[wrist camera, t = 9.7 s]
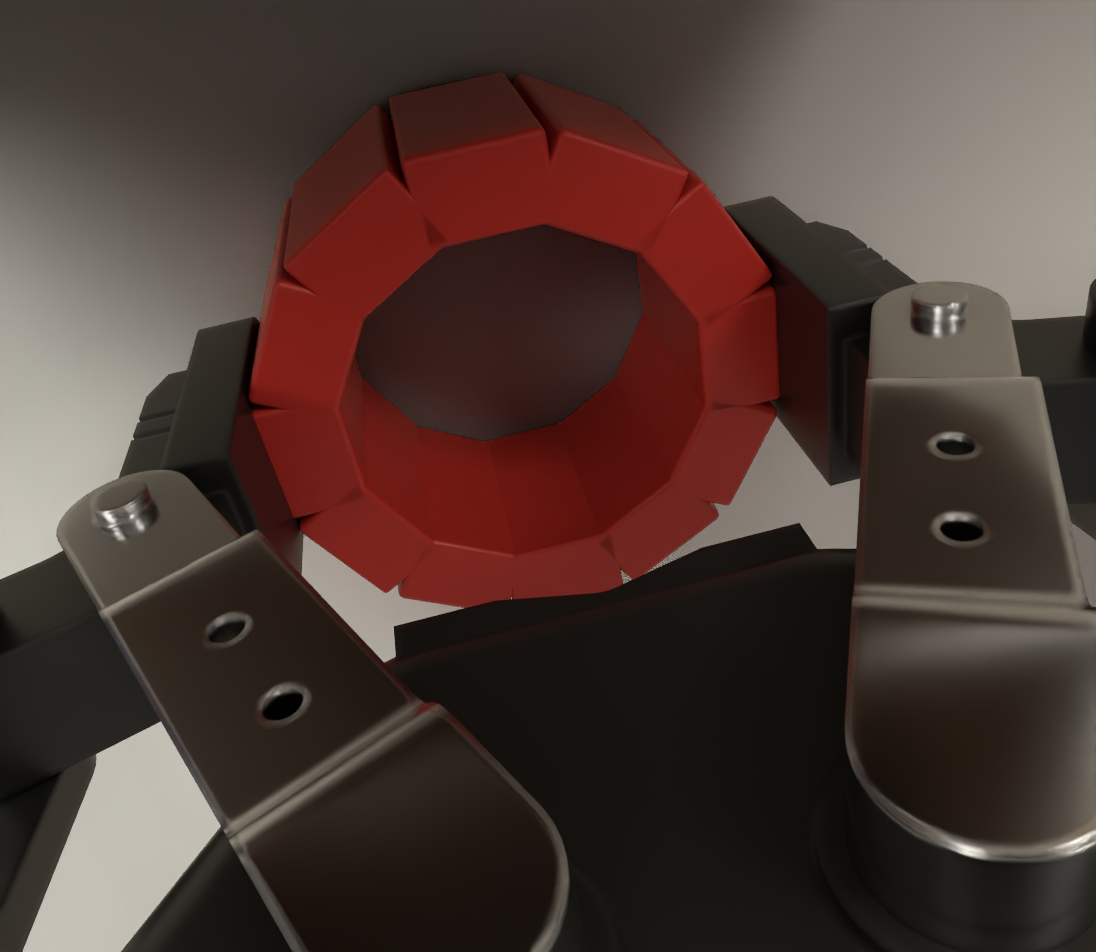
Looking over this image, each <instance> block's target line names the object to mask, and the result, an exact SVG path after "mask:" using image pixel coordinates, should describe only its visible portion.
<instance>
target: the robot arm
mask: <svg viewBox="0 0 1096 952" xmlns="http://www.w3.org/2000/svg"><path fill="white" fill-rule="evenodd" d="M723 208H724V209H725V210H726V212H727V213H728V214H729V216H730V217H731V218H732V220H733V221H734V222H735V224H736V225H737V226H738V228H739V229H740V230H741V232H742V233H743V234H744V236H745V237H746V238H747V240H748V241H749V242H750V244H751V245H752V247H753V248H754V249H755V251H756V252H757V253H758V255H759V256H760V257H761V259H762V260H763V261H764V263H765V264H766V265H767V267H768V268H769V269H770V271H771V273H772V277H771V279H770V280H769V281H768V282H767V283H768V284H769V285H770V286H771V287H772V288H773V289H774V291H775V296H776V317H777V341H778V364H779V388H780V397H779V398H778V399H775V400H771V401H770V402H771V403H772V404H773V406H774V407H775V408H776V409H777V415H776V416H777V417H778V418H779V420H780V421H781V422H782V424H783V425H784V426H785V428H786V429H787V430H788V431H789V433H790V434H791V435H792V437H793V438H794V439H795V441H796V442H797V443H798V444H799V446H800V447H801V448H802V450H803V451H804V452H805V454H806V455H807V456H808V457H809V459H810V460H811V461H812V463H813V464H814V465H815V467H816V468H817V469H818V470H819V472H820V473H821V474H822V476H823V477H824V478H825V480H826V481H827V482H828V483H829V485H830V486H831V485H835V484H839V483H843V482H847V481H851V480H855V479H859V478H860V495H859V513H858V531H857V548H856V549H817V548H816V547H815V545H814V544H813V542H812V541H811V540H810V538H809V537H808V535H807V534H806V532H805V531H804V529H803V528H802V526H801V525H800V523H797V524H793V525H789V526H785V527H782V528H778V529H774V530H770V531H766V532H762V533H758V534H754V535H750V536H746V537H742V538H738V539H735V540H731V541H727V542H723V543H719V544H715V545H711V546H707V547H703V548H700V549H698V550H696V551H694V552H692V553H689V554H687V555H685V556H683V557H681V558H679V559H676V560H674V561H672V562H670V563H668V564H666V565H663V566H661V567H659V568H657V569H655V570H653V571H650V572H648V573H646V574H644V575H642V576H640V577H637V578H635V579H633V580H631V581H629V582H627V583H624V584H622V585H620V586H618V587H616V588H613V589H611V590H608V591H604V592H598V593H589V594H576V595H563V596H549V597H536V598H523V599H510V600H497V601H492V602H488V603H484V604H480V605H476V606H472V607H468V608H464V609H460V610H456V611H453V612H449V613H445V614H441V615H437V616H433V617H429V618H425V619H421V620H417V621H413V622H409V623H406V624H402V625H398V626H394V636H395V649H396V657H395V658H393V659H391V660H389V661H387V662H385V663H384V662H383V661H382V660H381V659H380V658H379V657H378V656H377V655H376V654H375V653H374V652H373V650H372V649H371V648H370V647H369V646H368V645H367V644H366V643H365V642H364V641H363V640H362V639H361V638H360V637H359V636H358V635H357V634H356V632H355V631H354V630H353V629H352V628H351V627H350V626H349V625H348V624H347V623H346V622H345V621H344V620H343V619H342V618H341V617H340V616H339V614H338V613H337V612H336V611H335V610H334V609H333V608H332V607H331V606H330V605H329V604H328V603H327V602H326V601H325V600H324V599H323V598H322V597H321V595H320V594H319V593H318V592H317V591H316V590H315V589H314V588H313V587H312V586H311V585H310V584H309V583H308V582H307V581H306V580H305V579H304V577H303V576H302V575H301V573H302V552H303V533H302V532H301V531H300V529H299V523H300V517H299V518H294V517H293V515H292V512H291V510H290V507H289V505H288V502H287V500H286V497H285V495H284V492H283V490H282V487H281V485H280V482H279V480H278V477H277V475H276V472H275V470H274V468H273V465H272V463H271V460H270V458H269V455H268V453H267V450H266V448H265V445H264V443H263V440H262V438H261V435H260V433H259V430H258V428H257V425H256V423H255V420H254V417H253V410H254V403H252V402H250V401H249V399H248V391H249V385H250V379H251V373H252V367H253V361H254V355H255V349H256V343H257V337H258V331H259V325H260V322H259V321H258V320H257V318H255V317H252V318H247V319H243V320H239V321H235V322H230V323H226V324H222V325H218V326H214V327H209V328H205V329H201V330H199V331H198V333H197V336H196V340H195V344H194V347H193V351H192V354H191V358H190V361H189V365H188V368H187V370H186V371H181V372H177V373H173V374H169V375H168V376H167V377H166V378H165V379H164V380H163V381H162V382H161V383H160V384H159V385H158V386H157V387H156V388H155V389H154V390H153V391H152V392H151V393H150V394H149V395H148V396H147V397H146V400H145V403H144V406H143V409H142V412H141V414H140V417H139V419H140V422H139V423H137V426H136V429H135V432H134V435H133V437H134V440H132V441H131V444H130V447H129V449H128V452H127V455H126V458H125V461H124V464H123V467H122V470H121V473H120V476H119V479H116V480H114V481H111V482H109V483H107V484H105V485H103V486H101V487H99V488H97V489H95V490H94V491H92V492H90V493H89V494H87V495H86V496H84V497H83V498H82V499H80V500H79V501H78V502H76V503H75V504H74V505H73V506H72V507H71V508H70V509H69V510H68V511H67V512H66V513H65V515H64V516H63V517H62V519H61V521H60V522H59V525H58V527H57V534H56V536H57V539H58V542H59V543H60V545H61V547H62V549H63V551H62V552H60V553H58V554H56V555H54V556H53V557H51V558H48V559H46V560H44V561H42V562H40V563H38V564H35V565H33V566H31V567H28V568H26V569H24V570H21V571H19V572H17V573H14V574H12V575H10V576H7V577H5V578H3V579H1V580H0V952H22V951H23V948H24V946H25V943H26V941H27V938H28V936H29V933H30V931H31V928H32V926H33V923H34V921H35V918H36V916H37V913H38V911H39V908H40V906H41V903H42V901H43V898H44V896H45V893H46V891H47V888H48V886H49V883H50V881H51V878H52V876H53V873H54V871H55V868H56V866H57V863H58V861H59V858H60V856H61V853H62V851H63V848H64V846H65V843H66V841H67V838H68V836H69V833H70V831H71V828H72V826H73V823H74V821H75V818H76V816H77V813H78V811H79V808H80V806H81V803H82V801H83V798H84V796H85V793H86V791H87V788H88V786H89V783H90V781H91V778H92V776H93V773H94V770H95V766H96V754H97V753H99V752H101V751H103V750H105V749H107V748H109V747H111V746H113V745H115V744H117V743H119V742H121V741H123V740H125V739H127V738H129V737H131V736H133V735H135V734H137V733H139V732H141V731H143V730H145V729H147V728H148V727H150V726H152V725H154V724H156V723H158V722H160V721H161V722H162V724H163V726H164V727H165V729H166V731H167V733H168V734H169V736H170V738H171V740H172V741H173V743H174V745H175V747H176V748H177V750H178V752H179V754H180V755H181V757H182V759H183V761H184V762H185V764H186V766H187V767H188V769H189V771H190V773H191V774H192V776H193V778H194V780H195V781H196V783H197V785H198V787H199V788H200V790H201V792H202V794H203V795H204V797H205V799H206V801H207V802H208V804H209V806H210V808H211V809H212V811H213V813H214V815H215V816H216V818H217V820H218V822H219V823H220V825H221V827H220V828H219V830H218V831H217V832H216V833H215V835H214V836H213V837H212V838H211V840H210V841H209V842H208V843H207V845H206V846H205V847H204V848H203V850H202V851H201V852H200V853H199V855H198V856H197V857H196V858H195V860H194V861H193V862H192V863H191V865H190V866H189V867H188V868H187V870H186V871H185V872H184V874H183V875H182V876H181V877H180V879H179V880H178V881H177V882H176V884H175V885H174V886H173V887H172V889H171V890H170V891H169V892H168V894H167V895H166V896H165V897H164V899H163V900H162V901H161V902H160V904H159V905H158V906H157V907H156V909H155V910H154V911H153V912H152V914H151V915H150V916H149V917H148V919H147V920H146V921H145V922H144V924H143V925H142V926H141V927H140V929H139V930H138V931H137V933H136V934H135V935H134V936H133V938H132V939H131V940H130V941H129V943H128V944H127V945H126V946H125V948H124V949H123V950H122V951H121V952H1096V607H1092V606H1091V605H1090V604H1089V602H1088V599H1087V596H1086V592H1085V587H1084V583H1083V578H1082V573H1081V569H1080V564H1079V559H1078V554H1077V550H1076V545H1075V540H1074V535H1073V531H1072V526H1071V522H1072V523H1073V524H1075V525H1076V526H1077V527H1079V528H1080V529H1082V530H1083V531H1084V532H1086V533H1087V534H1088V535H1090V536H1091V537H1092V538H1094V539H1095V540H1096V279H1095V280H1094V281H1093V282H1092V284H1091V285H1090V290H1089V296H1088V302H1087V309H1086V315H1085V316H1074V317H1061V318H1047V319H1034V320H1011V315H1010V309H1009V306H1008V303H1007V302H1006V300H1005V299H1004V298H1003V297H1002V296H1000V295H999V294H998V293H996V292H994V291H992V290H990V289H987V288H984V287H981V286H977V285H973V284H967V283H961V282H925V283H916V282H915V281H914V280H912V279H911V278H910V277H908V276H907V275H906V274H904V273H903V272H902V271H900V270H899V269H898V268H896V267H895V266H894V265H893V264H891V263H890V262H889V261H887V260H883V259H882V256H881V255H879V254H878V253H877V252H875V251H874V250H873V249H871V248H867V245H866V244H865V243H863V242H862V241H861V240H859V239H858V238H857V237H855V236H854V235H853V234H851V233H850V232H849V231H847V230H844V229H841V228H837V227H834V226H830V225H827V224H823V223H820V222H811V223H806V222H804V221H803V220H802V219H801V218H799V217H798V216H797V215H796V214H795V213H793V212H792V211H791V210H790V209H788V208H787V207H786V206H785V205H783V204H782V203H781V202H780V201H778V200H777V199H776V198H775V197H773V196H768V197H764V198H760V199H756V200H751V201H747V202H743V203H739V204H734V205H730V206H726V207H723Z"/></svg>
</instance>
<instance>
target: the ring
mask: <svg viewBox="0 0 1096 952" xmlns="http://www.w3.org/2000/svg"><path fill="white" fill-rule="evenodd" d="M389 107H390V112H391V117H392V119H391V118H390V117H389V116H388V115H387V114H386V113H385V112H384V111H383V110H382V109H381V108H380V106H378V105H374V106H373V107H372V108H370V109H369V110H368V111H367V112H366V113H365V114H364V115H363V116H362V117H361V118H360V119H359V120H358V121H357V122H356V123H355V124H354V125H353V126H352V127H351V128H350V129H349V130H348V131H347V132H346V133H345V134H344V135H343V136H342V137H341V138H340V139H339V140H338V141H337V142H336V143H335V144H334V145H333V146H332V147H331V148H330V149H329V150H328V151H327V152H326V153H325V154H324V155H323V156H322V157H321V158H320V159H319V160H318V161H317V162H316V163H315V164H314V165H313V166H312V167H311V168H310V169H309V170H308V171H307V172H306V173H305V174H304V175H303V176H302V177H301V178H300V179H298V180H297V181H296V182H295V185H294V192H293V198H288V199H287V200H286V202H285V206H284V210H283V215H282V219H281V224H280V228H279V233H278V237H277V242H276V246H275V251H274V255H273V259H272V264H271V268H270V273H269V277H268V282H267V286H266V291H265V295H264V300H263V306H262V312H261V318H260V325H259V331H258V337H257V343H256V349H255V355H254V361H253V367H252V373H251V379H250V385H249V391H248V399H249V401H250V402H252V403H254V410H253V417H254V420H255V423H256V425H257V428H258V430H259V433H260V435H261V438H262V440H263V443H264V445H265V448H266V450H267V453H268V455H269V458H270V460H271V463H272V465H273V468H274V470H275V472H276V475H277V477H278V480H279V482H280V485H281V487H282V490H283V492H284V495H285V497H286V500H287V502H288V505H289V507H290V510H291V512H292V515H293V517H294V518H299V517H300V523H299V529H300V531H301V532H302V533H303V534H305V535H306V536H307V537H309V538H310V539H311V540H313V541H314V542H316V543H317V544H318V545H320V546H321V547H322V548H324V549H325V550H327V551H328V552H329V553H331V554H332V555H334V556H335V557H336V558H338V559H339V560H340V561H342V562H343V563H345V564H346V565H347V566H349V567H350V568H351V569H353V570H354V571H356V572H357V573H358V574H360V575H361V576H362V577H364V578H365V579H367V580H368V581H369V582H371V583H372V584H374V585H375V586H376V587H378V588H379V589H380V590H382V591H383V592H385V593H387V592H389V591H390V590H391V589H392V588H394V587H395V586H396V585H397V584H398V591H399V595H400V596H401V597H403V598H407V599H413V600H419V601H425V602H432V603H438V604H444V605H450V606H457V607H463V608H468V607H472V606H476V605H480V604H484V603H488V602H492V601H497V600H510V599H511V596H512V599H523V598H536V597H549V596H563V595H576V594H589V593H598V592H604V591H608V590H611V589H613V588H616V587H618V586H620V585H622V584H623V581H622V575H621V570H622V571H623V572H624V573H625V574H627V575H628V576H629V577H630V578H631V579H635V578H637V577H640V576H642V575H644V574H645V573H646V572H647V571H649V570H650V569H651V568H653V567H654V566H655V565H657V564H658V563H659V562H661V561H662V560H663V559H665V558H666V557H667V556H669V555H670V554H671V553H673V552H674V551H675V550H677V549H678V548H679V547H680V546H682V545H683V544H684V543H686V542H687V541H688V540H690V539H691V538H692V537H694V536H695V535H696V534H698V533H699V532H700V531H702V530H703V529H704V528H706V527H707V526H708V525H709V524H711V523H712V522H713V521H715V520H716V519H717V518H718V516H719V515H718V510H717V509H716V507H715V505H714V503H717V504H722V505H729V504H730V503H731V501H732V499H733V498H734V496H735V494H736V492H737V490H738V488H739V486H740V484H741V482H742V480H743V478H744V477H745V475H746V473H747V471H748V469H749V467H750V465H751V463H752V461H753V459H754V457H755V456H756V454H757V452H758V450H759V448H760V446H761V444H762V442H763V440H764V438H765V436H766V435H767V433H768V431H769V429H770V427H771V425H772V423H773V421H774V419H775V417H776V415H777V409H776V408H775V407H774V406H773V404H772V403H771V402H770V401H771V400H775V399H778V398H779V397H780V388H779V364H778V341H777V317H776V296H775V291H774V289H773V288H772V287H771V286H770V285H769V284H768V283H767V282H768V281H769V280H770V279H771V277H772V273H771V271H770V269H769V268H768V267H767V265H766V264H765V263H764V261H763V260H762V259H761V257H760V256H759V255H758V253H757V252H756V251H755V249H754V248H753V247H752V245H751V244H750V242H749V241H748V240H747V238H746V237H745V236H744V234H743V233H742V232H741V230H740V229H739V228H738V226H737V225H736V224H735V222H734V221H733V220H732V218H731V217H730V216H729V214H728V213H727V212H726V210H725V209H724V208H723V206H722V205H721V204H720V202H719V201H718V200H717V198H716V197H715V196H714V194H713V193H712V192H711V190H710V189H709V188H708V186H707V185H706V184H705V182H704V181H702V180H701V179H700V178H699V177H698V176H697V175H696V174H695V173H694V172H693V171H692V170H690V169H689V168H688V167H687V166H686V165H685V164H684V163H683V162H682V161H681V160H680V159H678V158H677V157H676V156H675V155H674V154H673V153H672V152H671V151H670V150H669V149H668V148H667V147H665V146H664V145H663V144H662V143H661V142H660V141H659V140H658V139H657V138H656V137H655V136H653V135H652V134H651V133H650V132H649V131H648V130H647V129H646V128H645V127H644V126H643V125H641V124H640V123H639V122H638V121H637V120H635V119H631V118H630V117H629V116H628V115H627V114H625V113H624V112H623V111H622V110H621V109H620V108H618V107H615V106H612V105H610V104H607V103H604V102H601V101H598V100H595V99H593V98H590V97H587V96H584V95H581V94H579V93H576V92H573V91H570V90H567V89H565V88H562V87H559V86H556V85H553V84H551V83H548V82H545V81H542V80H539V79H536V78H534V77H531V76H528V75H525V74H518V75H517V77H516V78H515V80H514V83H513V86H512V84H511V83H510V81H509V80H508V79H507V77H506V76H505V75H504V73H500V72H498V73H493V74H489V75H485V76H480V77H476V78H471V79H467V80H462V81H458V82H453V83H449V84H444V85H440V86H436V87H431V88H427V89H422V90H418V91H413V92H409V93H404V94H400V95H395V96H393V97H391V98H390V99H389ZM542 224H545V225H549V226H552V227H555V228H558V229H562V230H565V231H568V232H572V233H575V234H578V235H581V236H585V237H588V238H591V239H595V240H598V241H601V242H604V243H608V244H611V245H614V246H618V247H621V248H624V249H627V250H631V251H634V252H636V258H637V266H638V273H639V281H640V289H641V297H642V305H643V314H642V316H641V318H640V321H639V323H638V325H637V328H636V330H635V332H634V335H633V337H632V340H631V342H630V344H629V347H628V349H627V351H626V354H625V356H624V358H623V361H622V363H621V365H620V368H619V370H618V372H617V375H616V377H615V378H614V379H613V380H612V381H611V382H609V383H608V384H607V385H606V386H605V387H603V388H602V389H601V390H600V391H598V392H597V393H596V394H595V395H594V396H592V397H591V398H590V399H589V400H588V401H586V402H585V403H584V404H583V405H582V406H580V407H579V408H578V409H577V410H576V411H574V412H573V413H572V414H571V415H569V416H568V417H567V418H566V419H565V420H563V421H562V422H561V423H559V424H555V425H551V426H547V427H543V428H538V429H534V430H530V431H526V432H522V433H518V434H514V435H510V436H506V437H502V438H498V439H494V440H489V441H480V440H476V439H471V438H467V437H462V436H458V435H453V434H449V433H444V432H439V431H435V430H430V429H426V428H421V427H418V426H417V425H416V424H414V423H413V422H412V421H411V420H410V419H409V418H408V417H406V416H405V415H404V414H403V413H402V412H401V411H399V410H398V409H397V408H396V407H395V406H394V405H393V404H391V403H390V402H389V401H388V400H387V399H386V398H385V397H383V396H382V395H381V394H380V393H379V392H378V391H376V390H375V389H374V388H373V387H372V386H371V385H370V384H368V383H367V382H366V381H365V380H364V379H363V378H362V376H361V373H360V370H359V367H358V364H357V361H356V357H355V351H356V348H357V344H358V341H359V337H360V333H361V330H362V326H363V323H364V319H365V318H366V317H367V316H368V315H369V314H370V313H371V312H373V311H374V310H375V309H376V308H377V307H378V306H379V305H380V304H381V303H382V302H383V301H385V300H386V299H387V298H388V297H389V296H390V295H391V294H392V293H393V292H394V291H395V290H397V289H398V288H399V287H400V286H401V285H402V284H403V283H404V282H405V281H406V280H407V279H409V278H410V277H411V276H412V275H413V274H414V273H415V272H416V271H417V270H418V269H419V268H421V267H422V266H423V265H424V264H425V263H426V262H427V261H428V260H429V259H430V258H431V257H433V256H434V255H435V254H436V253H437V252H438V251H439V250H440V249H441V248H444V247H448V246H453V245H457V244H461V243H465V242H470V241H474V240H478V239H483V238H487V237H491V236H495V235H500V234H504V233H508V232H512V231H517V230H521V229H525V228H530V227H534V226H538V225H542Z"/></svg>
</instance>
